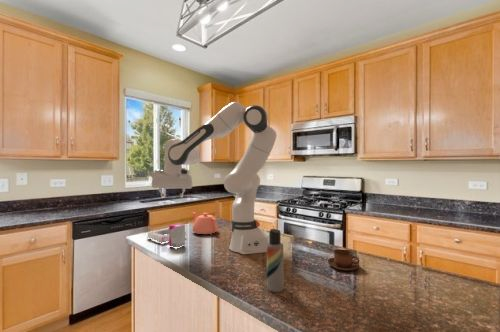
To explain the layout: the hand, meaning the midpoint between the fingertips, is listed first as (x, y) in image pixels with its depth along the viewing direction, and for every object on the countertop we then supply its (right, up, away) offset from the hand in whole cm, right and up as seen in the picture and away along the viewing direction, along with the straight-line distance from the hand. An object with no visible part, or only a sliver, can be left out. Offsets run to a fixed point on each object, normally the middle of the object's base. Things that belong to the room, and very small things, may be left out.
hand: (171, 197), depth 133 cm
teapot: (+12, -26, +27) cm, 39 cm away
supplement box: (+3, -26, -1) cm, 26 cm away
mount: (-7, -26, +14) cm, 30 cm away
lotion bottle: (+49, -26, -46) cm, 72 cm away
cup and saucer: (+79, -26, -28) cm, 87 cm away
